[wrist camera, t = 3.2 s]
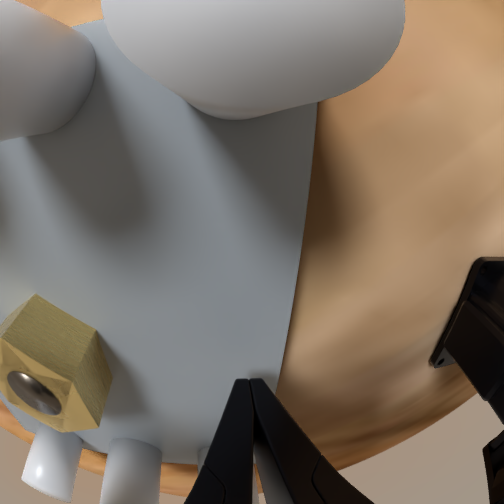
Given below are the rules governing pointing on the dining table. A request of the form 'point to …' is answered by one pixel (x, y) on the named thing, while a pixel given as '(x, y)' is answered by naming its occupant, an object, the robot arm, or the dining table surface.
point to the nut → (53, 366)
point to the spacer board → (167, 203)
